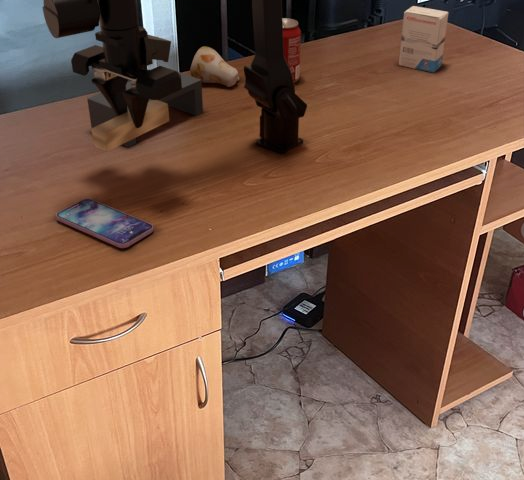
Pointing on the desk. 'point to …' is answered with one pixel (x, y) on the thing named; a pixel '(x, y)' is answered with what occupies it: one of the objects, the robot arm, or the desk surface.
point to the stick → (128, 126)
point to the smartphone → (105, 223)
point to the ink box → (423, 38)
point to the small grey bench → (182, 100)
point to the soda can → (292, 46)
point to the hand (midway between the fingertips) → (131, 124)
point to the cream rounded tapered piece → (212, 68)
